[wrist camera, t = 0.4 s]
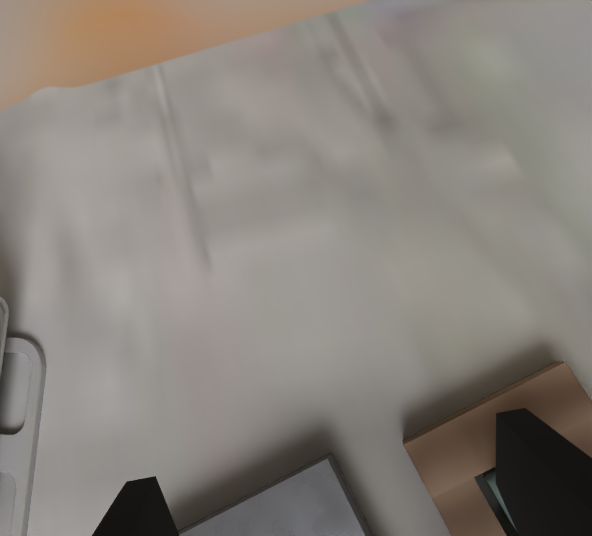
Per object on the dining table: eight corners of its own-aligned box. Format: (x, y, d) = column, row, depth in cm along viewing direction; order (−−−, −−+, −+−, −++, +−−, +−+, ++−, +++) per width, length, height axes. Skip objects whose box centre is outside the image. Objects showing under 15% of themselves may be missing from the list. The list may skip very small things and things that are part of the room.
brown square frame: (667, 533, 31) (685, 544, 29) (496, 614, 32) (502, 630, 30) (555, 361, 34) (565, 361, 32) (402, 440, 35) (403, 444, 33)
